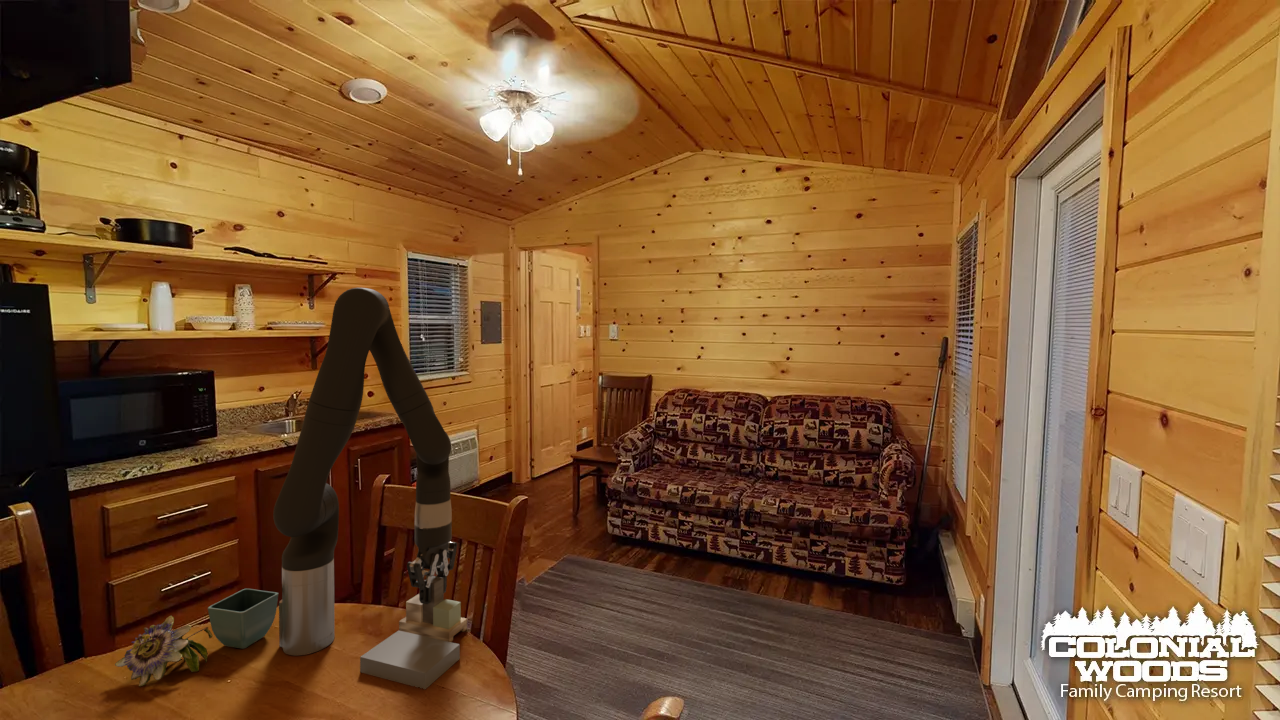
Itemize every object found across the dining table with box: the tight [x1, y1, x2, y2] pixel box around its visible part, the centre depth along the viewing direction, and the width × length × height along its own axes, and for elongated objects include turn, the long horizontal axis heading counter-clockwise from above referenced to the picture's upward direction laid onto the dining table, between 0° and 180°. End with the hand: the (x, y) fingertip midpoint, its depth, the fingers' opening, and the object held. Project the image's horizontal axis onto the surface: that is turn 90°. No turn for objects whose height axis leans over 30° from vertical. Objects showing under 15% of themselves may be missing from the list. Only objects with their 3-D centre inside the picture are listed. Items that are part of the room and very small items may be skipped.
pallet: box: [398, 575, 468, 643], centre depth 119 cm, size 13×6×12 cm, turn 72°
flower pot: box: [207, 588, 280, 650], centre depth 114 cm, size 9×9×9 cm
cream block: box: [405, 593, 423, 623], centre depth 121 cm, size 4×4×4 cm
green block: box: [433, 598, 462, 629], centre depth 118 cm, size 4×4×4 cm
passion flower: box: [114, 615, 213, 687], centre depth 104 cm, size 11×11×12 cm
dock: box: [359, 629, 461, 690], centre depth 107 cm, size 15×10×3 cm, turn 72°
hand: (433, 597), depth 119 cm, fingers open, 4 cm apart
